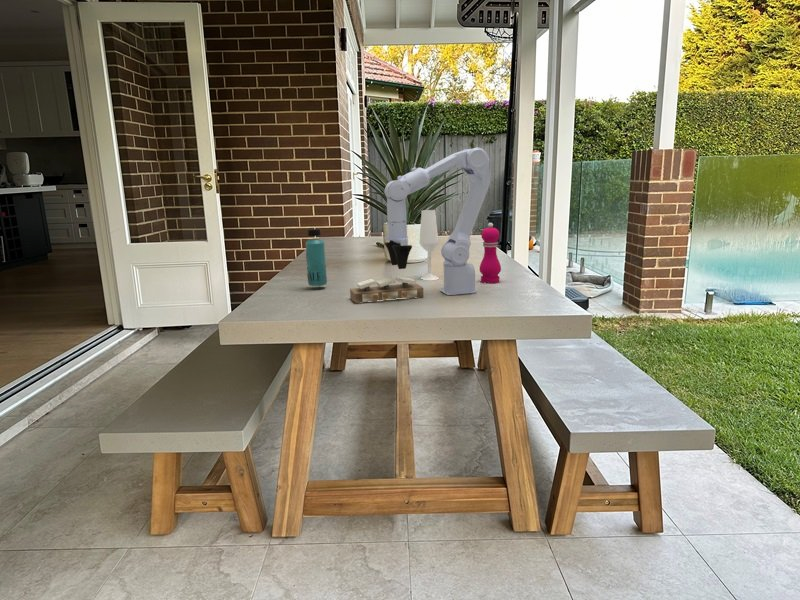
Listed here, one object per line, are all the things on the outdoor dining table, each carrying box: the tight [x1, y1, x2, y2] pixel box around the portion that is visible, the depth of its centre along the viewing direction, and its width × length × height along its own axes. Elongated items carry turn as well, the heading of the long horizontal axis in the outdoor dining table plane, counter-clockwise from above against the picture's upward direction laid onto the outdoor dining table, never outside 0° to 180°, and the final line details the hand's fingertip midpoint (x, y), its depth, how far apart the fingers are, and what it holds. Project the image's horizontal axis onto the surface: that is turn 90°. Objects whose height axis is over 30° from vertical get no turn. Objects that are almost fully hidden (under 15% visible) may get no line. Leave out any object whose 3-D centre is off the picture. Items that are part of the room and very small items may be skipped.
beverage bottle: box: [305, 228, 328, 287], centre depth 183 cm, size 6×7×20 cm
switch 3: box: [395, 276, 416, 284], centre depth 168 cm, size 5×4×1 cm
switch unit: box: [349, 282, 424, 304], centre depth 167 cm, size 21×8×4 cm, turn 106°
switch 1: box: [356, 277, 377, 289], centre depth 165 cm, size 5×4×1 cm
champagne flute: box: [419, 209, 440, 281], centre depth 193 cm, size 7×7×24 cm
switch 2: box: [375, 276, 397, 287], centre depth 167 cm, size 5×4×1 cm
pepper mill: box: [479, 222, 502, 284], centre depth 185 cm, size 7×7×20 cm
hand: (398, 266), depth 167 cm, fingers open, 7 cm apart
